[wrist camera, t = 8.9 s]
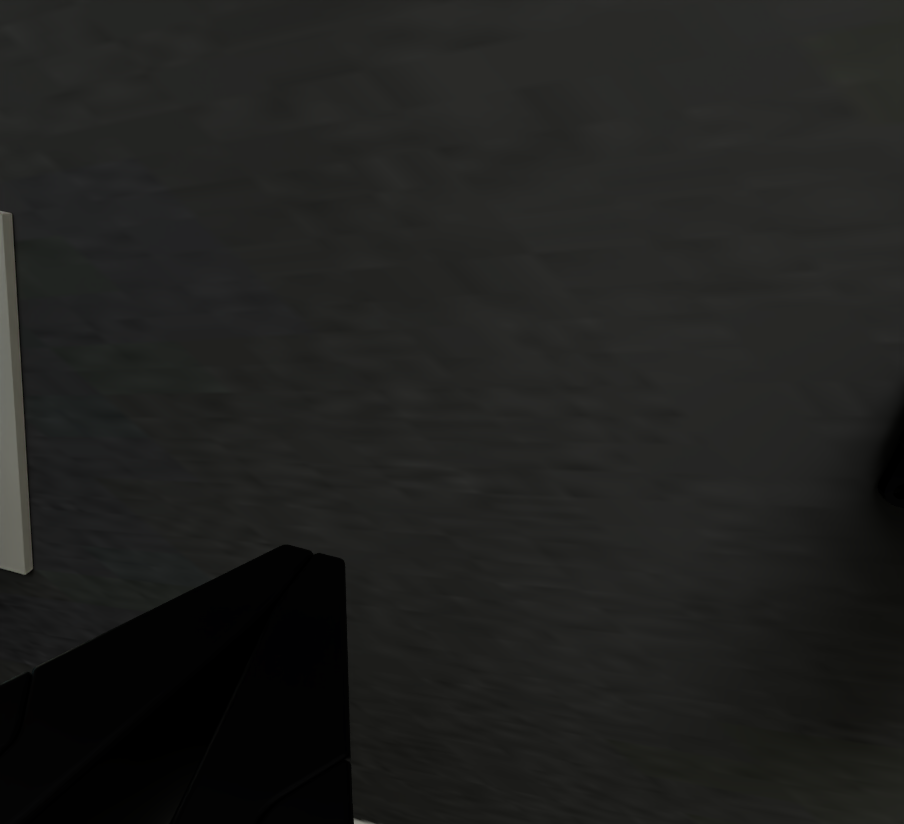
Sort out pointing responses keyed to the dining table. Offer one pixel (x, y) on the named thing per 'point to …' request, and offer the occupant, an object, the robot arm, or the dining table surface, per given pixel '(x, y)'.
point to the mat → (12, 419)
